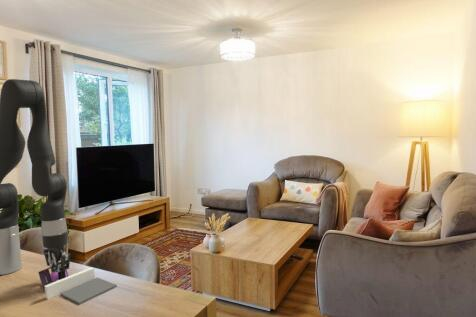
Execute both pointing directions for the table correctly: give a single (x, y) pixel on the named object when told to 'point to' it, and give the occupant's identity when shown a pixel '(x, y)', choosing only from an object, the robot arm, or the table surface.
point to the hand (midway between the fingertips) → (59, 279)
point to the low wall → (69, 282)
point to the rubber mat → (88, 290)
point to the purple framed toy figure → (49, 276)
